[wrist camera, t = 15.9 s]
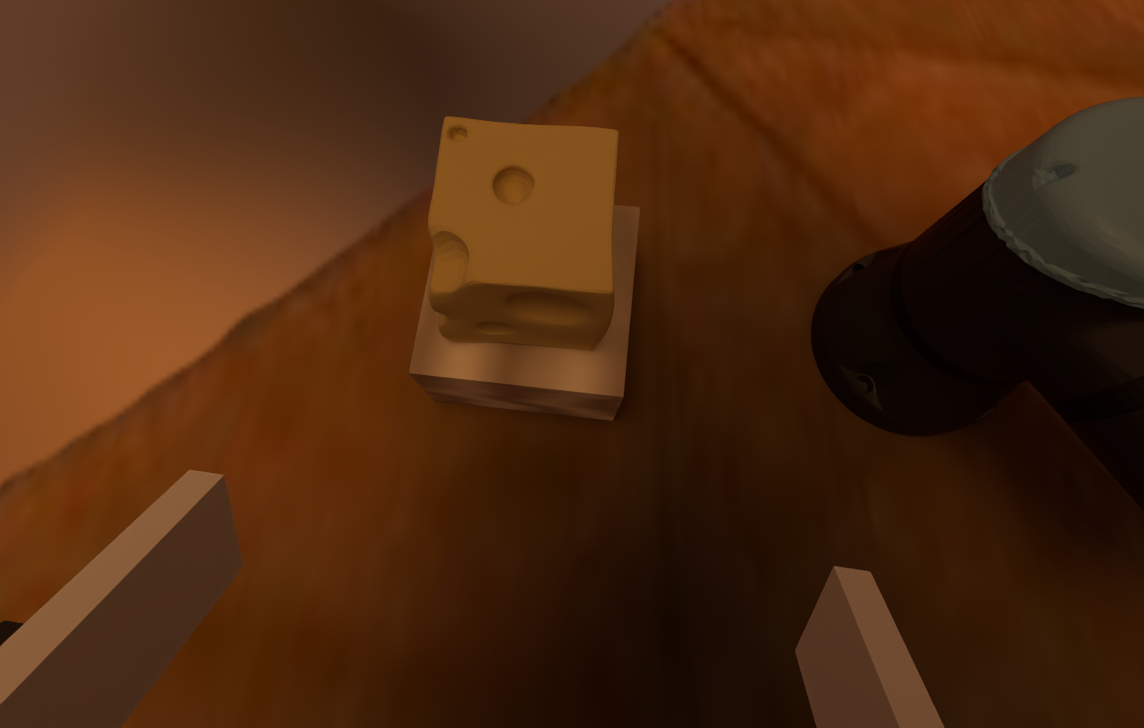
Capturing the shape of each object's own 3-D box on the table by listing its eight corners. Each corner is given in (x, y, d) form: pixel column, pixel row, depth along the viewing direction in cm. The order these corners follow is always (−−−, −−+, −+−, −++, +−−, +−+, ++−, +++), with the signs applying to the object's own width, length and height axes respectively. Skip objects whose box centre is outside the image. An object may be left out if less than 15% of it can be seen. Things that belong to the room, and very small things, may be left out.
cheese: (446, 345, 38) (407, 281, 29) (467, 202, 41) (439, 101, 32) (603, 358, 38) (617, 298, 29) (613, 214, 41) (629, 116, 32)
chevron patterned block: (627, 258, 49) (640, 207, 41) (612, 420, 45) (623, 397, 37) (463, 241, 49) (445, 186, 42) (434, 400, 45) (408, 373, 38)
